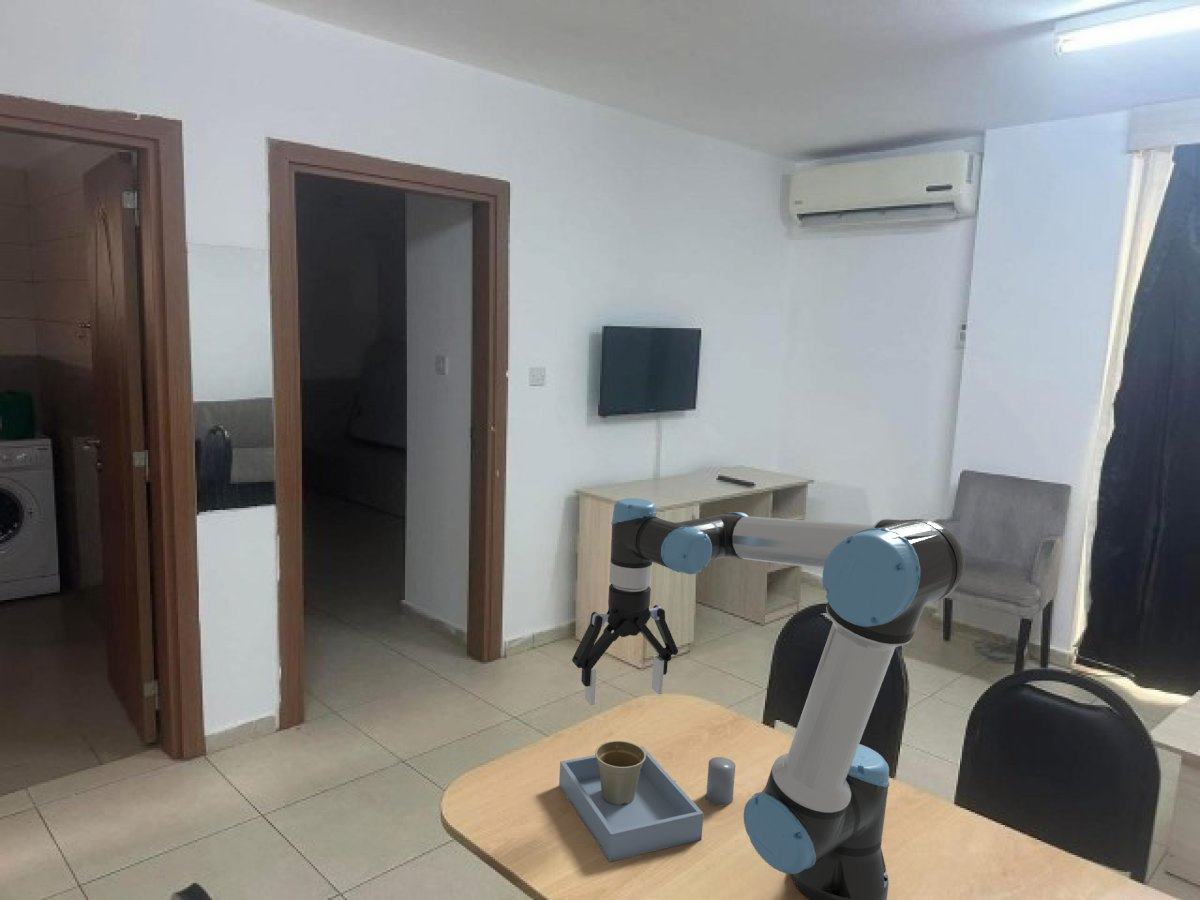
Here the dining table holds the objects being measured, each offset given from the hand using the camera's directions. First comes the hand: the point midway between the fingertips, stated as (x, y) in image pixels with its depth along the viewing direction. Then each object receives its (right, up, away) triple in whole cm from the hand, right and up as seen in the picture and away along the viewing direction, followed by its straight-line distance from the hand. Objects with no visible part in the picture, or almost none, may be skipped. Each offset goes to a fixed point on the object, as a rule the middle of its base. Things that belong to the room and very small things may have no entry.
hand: (623, 696), depth 151 cm
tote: (+1, -21, 0) cm, 21 cm away
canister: (+18, -21, +5) cm, 28 cm away
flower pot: (-1, -20, +3) cm, 20 cm away
